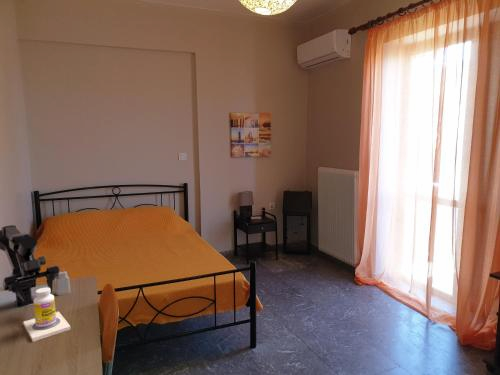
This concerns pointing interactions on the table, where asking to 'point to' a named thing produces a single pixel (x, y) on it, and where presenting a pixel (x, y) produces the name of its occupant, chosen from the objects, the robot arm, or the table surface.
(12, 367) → the table surface
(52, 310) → the supplement bottle
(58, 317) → the base
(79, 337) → the table surface
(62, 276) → the power adapter
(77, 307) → the table surface
